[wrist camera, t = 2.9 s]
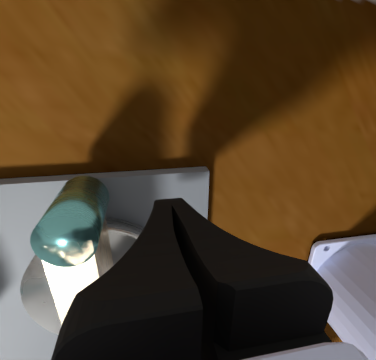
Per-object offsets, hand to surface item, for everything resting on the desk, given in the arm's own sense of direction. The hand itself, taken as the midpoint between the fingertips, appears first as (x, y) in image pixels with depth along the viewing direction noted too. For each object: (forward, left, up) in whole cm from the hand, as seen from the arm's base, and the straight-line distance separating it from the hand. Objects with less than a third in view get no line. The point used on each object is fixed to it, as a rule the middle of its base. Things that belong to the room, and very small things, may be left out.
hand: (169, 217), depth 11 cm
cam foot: (+4, +4, -2) cm, 6 cm away
